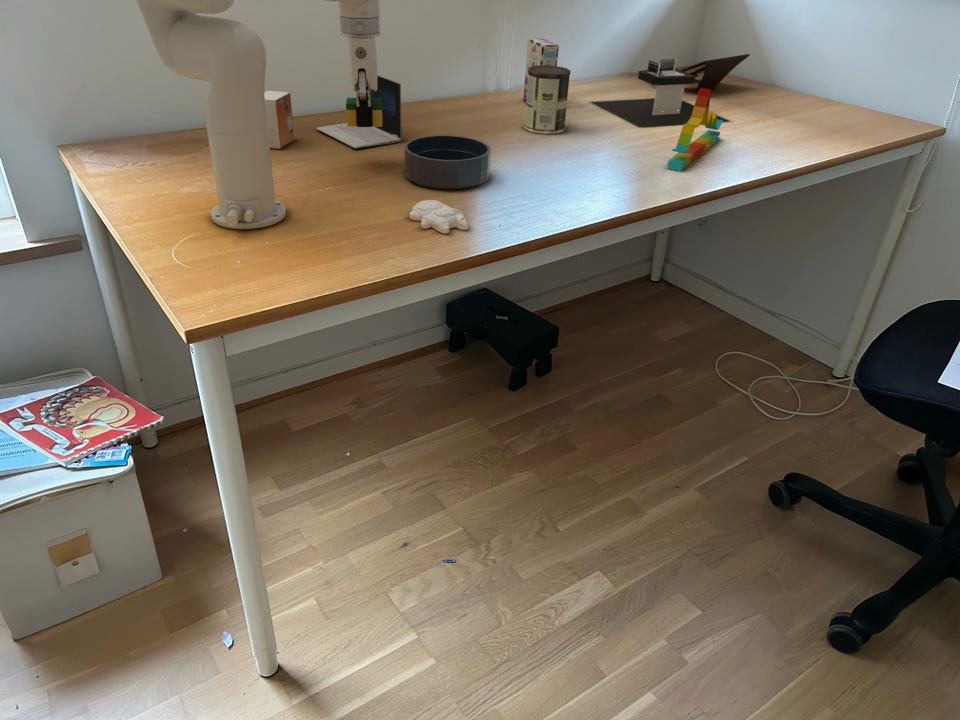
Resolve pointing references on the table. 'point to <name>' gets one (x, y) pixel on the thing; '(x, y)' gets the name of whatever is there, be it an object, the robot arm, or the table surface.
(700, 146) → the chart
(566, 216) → the table surface
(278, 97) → the small box
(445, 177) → the bowl
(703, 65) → the laptop tray
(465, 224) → the white flat figure
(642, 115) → the black-topped pedestal
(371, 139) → the laptop
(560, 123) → the coffee can
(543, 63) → the candy bar box
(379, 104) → the sponge
